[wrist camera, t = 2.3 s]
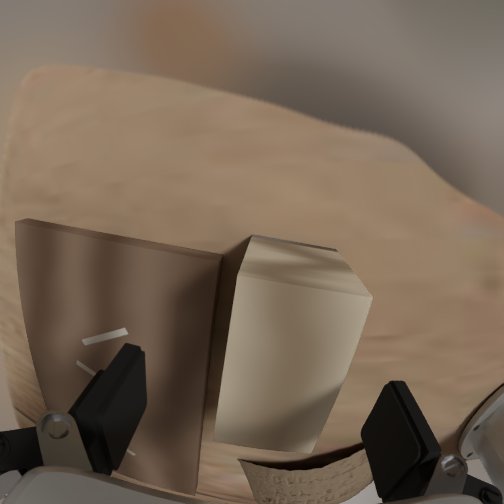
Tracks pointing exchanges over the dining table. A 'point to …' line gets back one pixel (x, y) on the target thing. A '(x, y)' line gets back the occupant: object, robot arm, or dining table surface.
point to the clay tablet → (310, 482)
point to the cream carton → (288, 344)
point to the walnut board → (124, 332)
